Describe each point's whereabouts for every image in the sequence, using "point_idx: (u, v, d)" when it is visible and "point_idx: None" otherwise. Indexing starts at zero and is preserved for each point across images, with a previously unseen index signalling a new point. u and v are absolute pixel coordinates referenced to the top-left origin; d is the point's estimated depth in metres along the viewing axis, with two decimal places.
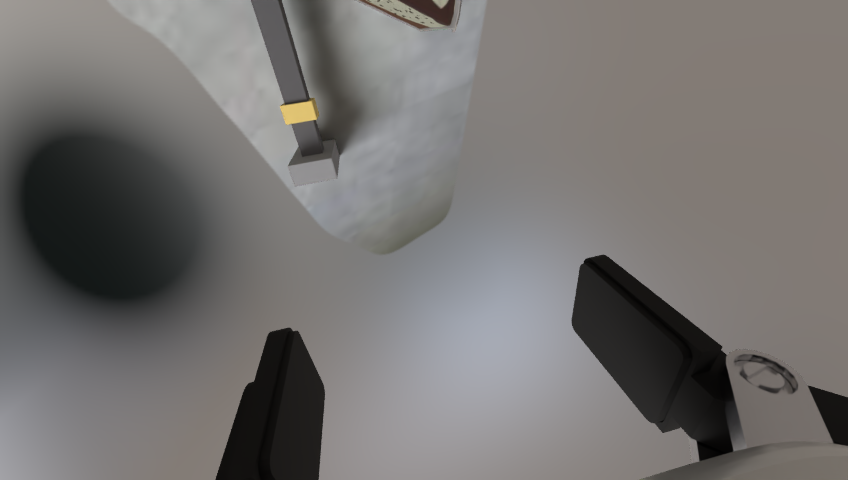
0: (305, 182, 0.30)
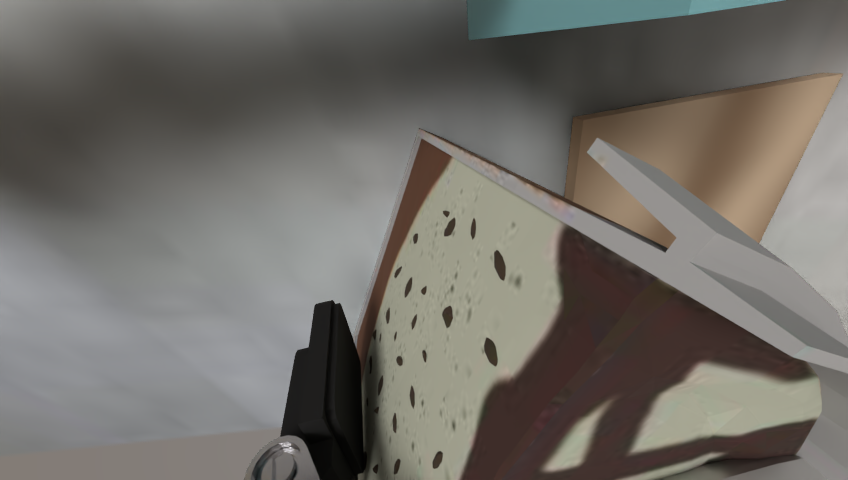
0: None
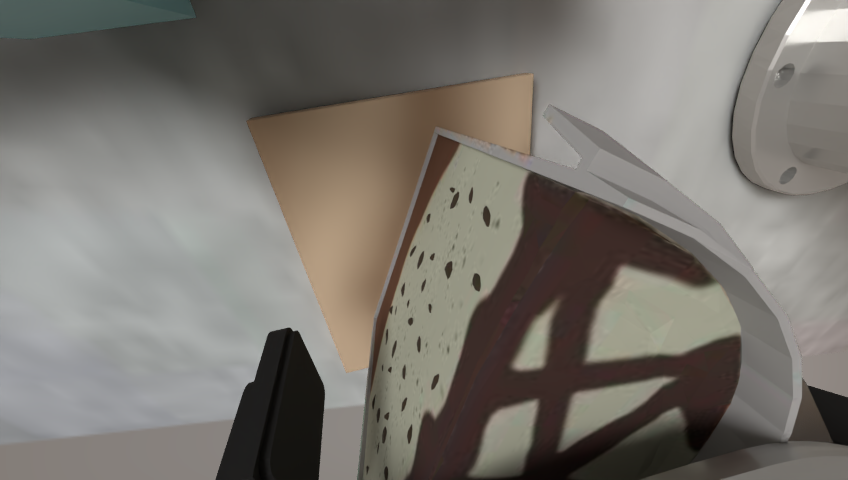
0: None
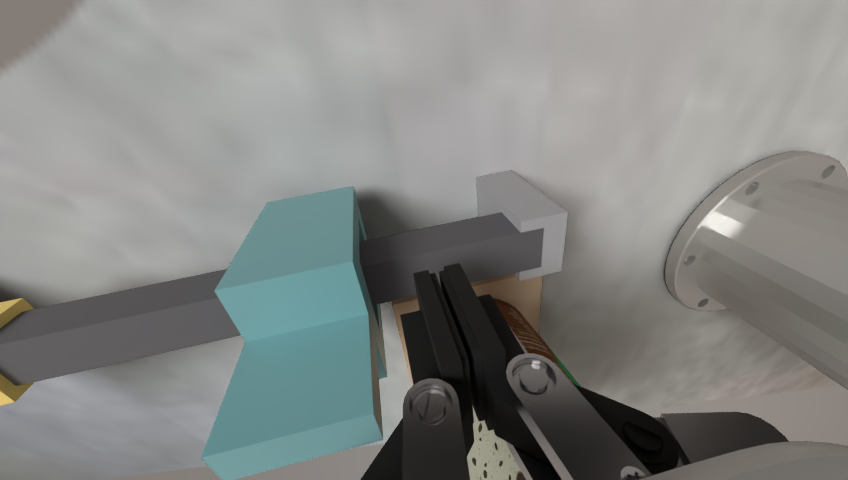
0: None
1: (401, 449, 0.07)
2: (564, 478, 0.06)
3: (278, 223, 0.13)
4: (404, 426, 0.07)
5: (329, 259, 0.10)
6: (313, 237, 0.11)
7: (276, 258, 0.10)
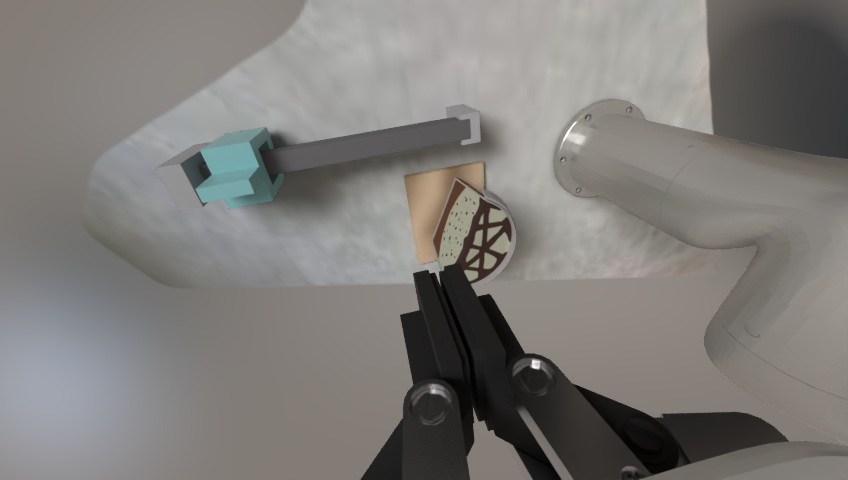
0: (163, 179, 0.27)
1: (401, 449, 0.07)
2: (564, 478, 0.06)
3: (227, 137, 0.30)
4: (404, 426, 0.07)
5: (241, 142, 0.27)
6: (239, 139, 0.29)
7: (223, 143, 0.28)
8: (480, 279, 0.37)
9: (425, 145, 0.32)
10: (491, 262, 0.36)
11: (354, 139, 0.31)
